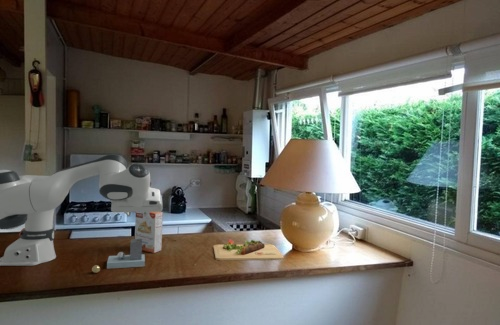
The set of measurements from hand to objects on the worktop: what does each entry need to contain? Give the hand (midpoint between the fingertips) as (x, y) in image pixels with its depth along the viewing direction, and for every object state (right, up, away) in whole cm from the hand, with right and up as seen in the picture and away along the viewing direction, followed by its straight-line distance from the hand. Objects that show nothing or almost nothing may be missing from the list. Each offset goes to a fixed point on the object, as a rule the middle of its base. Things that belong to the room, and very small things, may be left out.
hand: (137, 215), depth 145 cm
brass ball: (-18, -23, 0) cm, 29 cm away
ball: (-11, -20, +12) cm, 26 cm away
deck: (-9, -24, +13) cm, 29 cm away
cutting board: (+47, -27, +37) cm, 66 cm away
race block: (-5, -22, +14) cm, 26 cm away
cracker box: (-6, -24, +35) cm, 43 cm away
